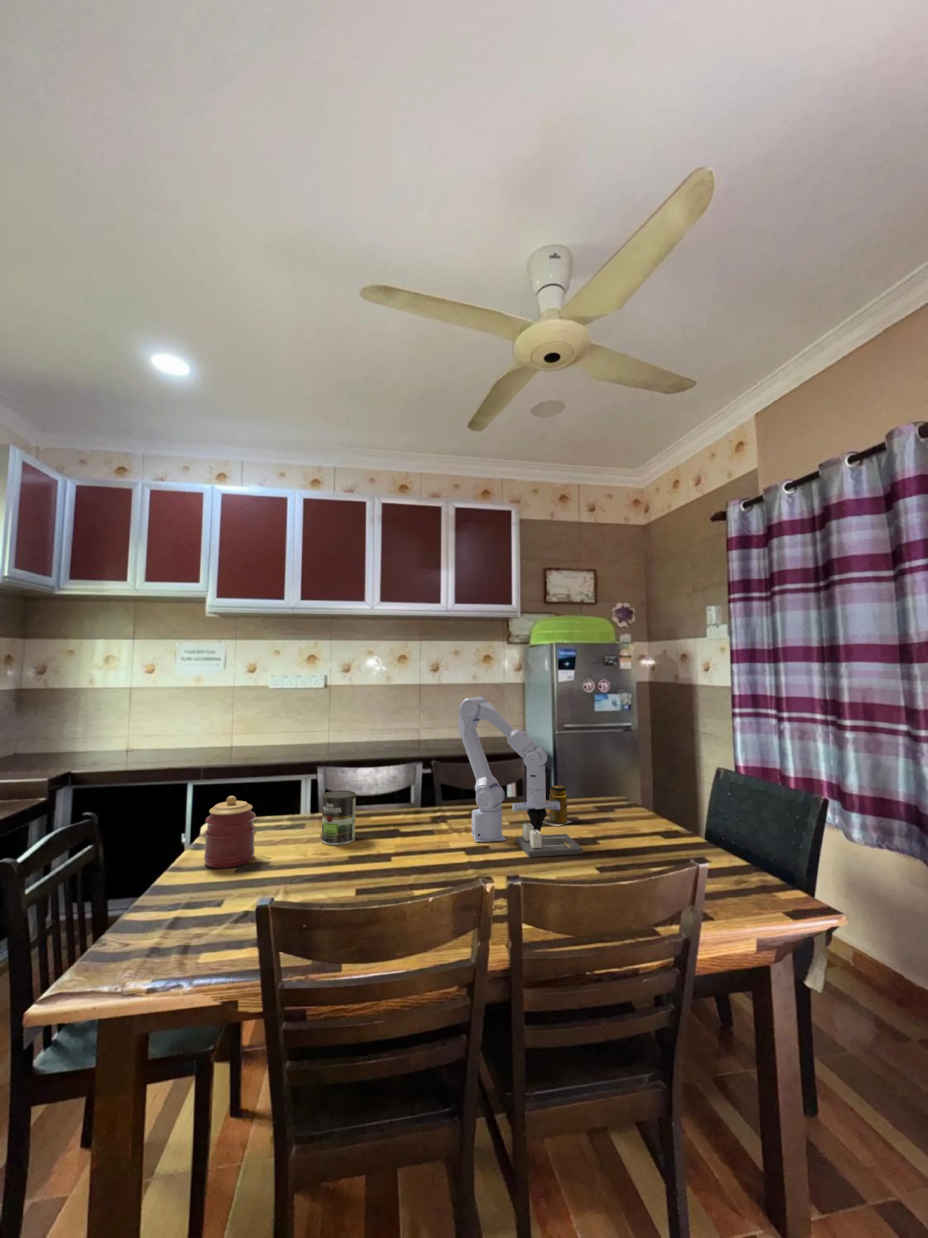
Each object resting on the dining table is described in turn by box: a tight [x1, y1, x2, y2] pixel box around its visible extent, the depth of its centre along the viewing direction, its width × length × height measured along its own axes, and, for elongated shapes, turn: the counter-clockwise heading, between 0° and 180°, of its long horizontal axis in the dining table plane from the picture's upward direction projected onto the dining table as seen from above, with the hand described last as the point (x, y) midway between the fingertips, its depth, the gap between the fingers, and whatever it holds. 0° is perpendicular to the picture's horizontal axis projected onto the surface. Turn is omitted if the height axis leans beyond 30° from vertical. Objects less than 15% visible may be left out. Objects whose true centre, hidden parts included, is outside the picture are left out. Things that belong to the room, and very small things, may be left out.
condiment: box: [542, 784, 573, 827], centre depth 192 cm, size 7×8×12 cm
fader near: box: [530, 830, 542, 848], centre depth 161 cm, size 2×4×4 cm
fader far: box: [522, 822, 534, 841], centre depth 168 cm, size 2×4×4 cm
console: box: [515, 833, 584, 858], centre depth 165 cm, size 16×14×2 cm
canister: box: [203, 795, 256, 869], centre depth 155 cm, size 13×13×18 cm
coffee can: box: [321, 790, 357, 846], centre depth 173 cm, size 10×10×14 cm
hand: (536, 834), depth 168 cm, fingers closed
